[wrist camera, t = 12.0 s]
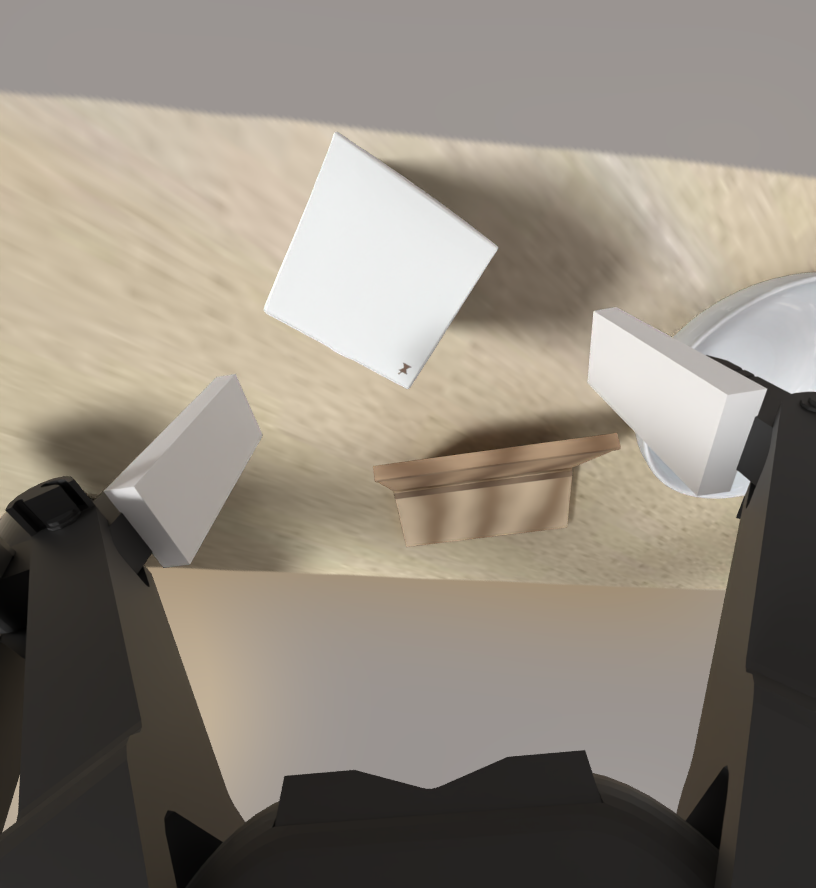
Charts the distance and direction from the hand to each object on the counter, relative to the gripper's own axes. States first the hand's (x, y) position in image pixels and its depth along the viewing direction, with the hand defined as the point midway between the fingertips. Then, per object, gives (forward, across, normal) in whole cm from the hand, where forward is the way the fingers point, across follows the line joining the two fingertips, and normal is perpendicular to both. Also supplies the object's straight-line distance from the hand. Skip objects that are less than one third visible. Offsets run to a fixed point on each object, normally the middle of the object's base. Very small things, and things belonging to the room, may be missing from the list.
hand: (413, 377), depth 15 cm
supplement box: (+22, +1, -2) cm, 22 cm away
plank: (+17, -5, +17) cm, 25 cm away
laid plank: (+22, -4, +27) cm, 35 cm away
